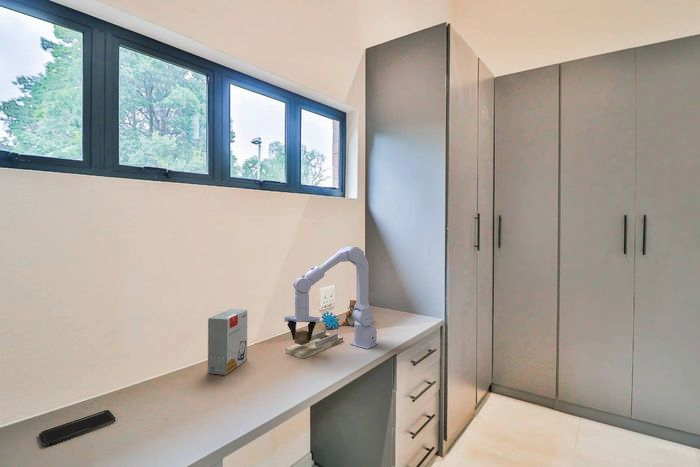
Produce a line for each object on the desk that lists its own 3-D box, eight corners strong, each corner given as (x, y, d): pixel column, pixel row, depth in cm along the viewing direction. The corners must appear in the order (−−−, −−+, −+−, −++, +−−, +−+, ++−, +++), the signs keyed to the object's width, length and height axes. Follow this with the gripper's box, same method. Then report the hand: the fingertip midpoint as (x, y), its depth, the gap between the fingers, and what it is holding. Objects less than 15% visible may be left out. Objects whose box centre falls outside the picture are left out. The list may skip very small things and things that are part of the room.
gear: (326, 328, 173) (320, 311, 178) (320, 334, 176) (314, 317, 182) (344, 327, 179) (337, 310, 185) (338, 333, 182) (332, 317, 188)
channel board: (343, 341, 159) (343, 332, 158) (302, 358, 138) (302, 348, 138) (326, 337, 165) (326, 328, 165) (285, 353, 144) (285, 343, 144)
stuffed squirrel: (340, 326, 182) (340, 301, 182) (353, 319, 195) (353, 296, 194) (357, 329, 177) (357, 303, 177) (369, 322, 190) (369, 297, 189)
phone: (38, 432, 88) (108, 409, 100) (38, 437, 88) (108, 412, 100) (43, 446, 83) (116, 419, 94) (43, 450, 83) (116, 423, 94)
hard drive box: (226, 376, 123) (226, 319, 122) (207, 374, 124) (206, 318, 124) (248, 359, 138) (247, 308, 137) (230, 357, 140) (230, 307, 139)
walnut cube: (309, 342, 145) (309, 331, 145) (302, 345, 142) (302, 334, 142) (302, 340, 148) (302, 329, 148) (294, 343, 144) (294, 332, 144)
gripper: (321, 305, 147) (321, 336, 148) (288, 303, 149) (288, 335, 150) (317, 309, 140) (317, 342, 141) (282, 307, 142) (282, 340, 143)
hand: (302, 339), depth 145 cm, fingers closed on walnut cube, 6 cm apart
